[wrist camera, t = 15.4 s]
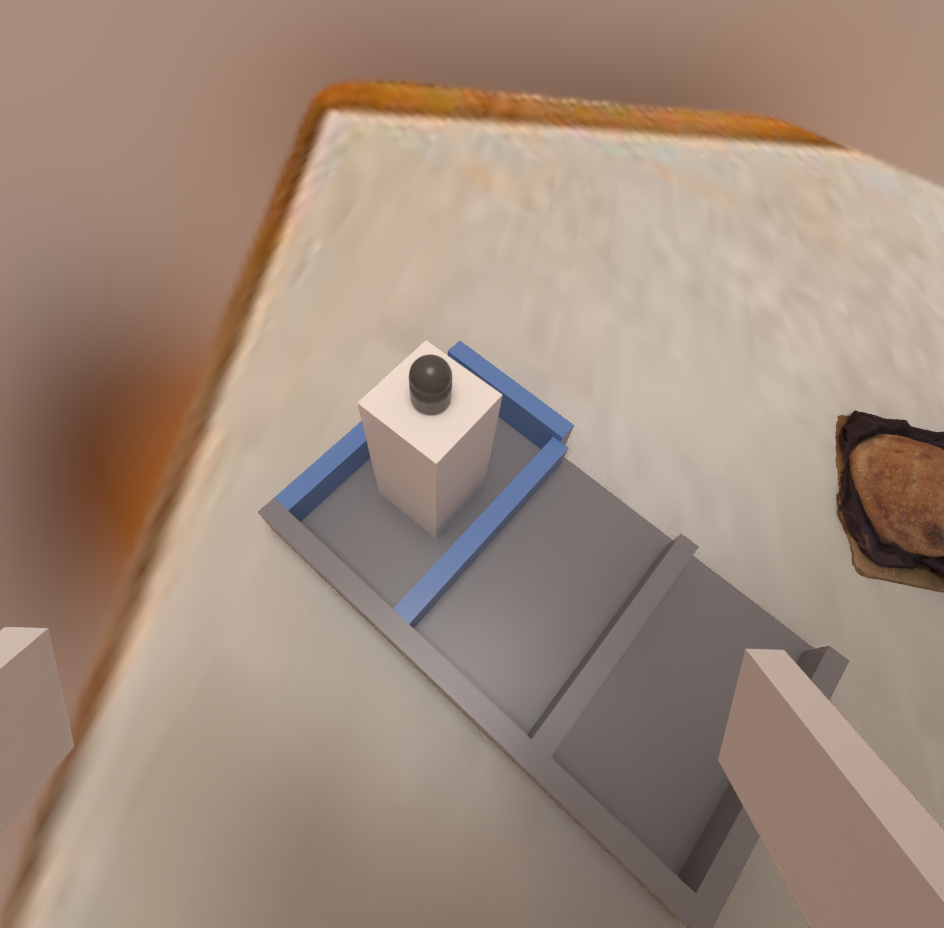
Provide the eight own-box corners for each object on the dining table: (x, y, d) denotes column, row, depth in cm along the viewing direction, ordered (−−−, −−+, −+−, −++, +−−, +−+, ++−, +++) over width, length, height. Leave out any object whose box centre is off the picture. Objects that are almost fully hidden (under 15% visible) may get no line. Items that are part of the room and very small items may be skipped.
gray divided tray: (451, 366, 34) (453, 335, 31) (825, 650, 28) (865, 642, 25) (271, 528, 29) (254, 508, 26) (679, 920, 22) (711, 945, 20)
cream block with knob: (428, 442, 31) (425, 301, 21) (484, 485, 30) (509, 359, 20) (379, 492, 29) (348, 367, 19) (436, 539, 28) (436, 434, 18)
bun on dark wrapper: (990, 608, 30) (1059, 594, 26) (834, 575, 30) (883, 556, 27) (956, 438, 34) (1012, 407, 31) (821, 410, 34) (862, 377, 31)
